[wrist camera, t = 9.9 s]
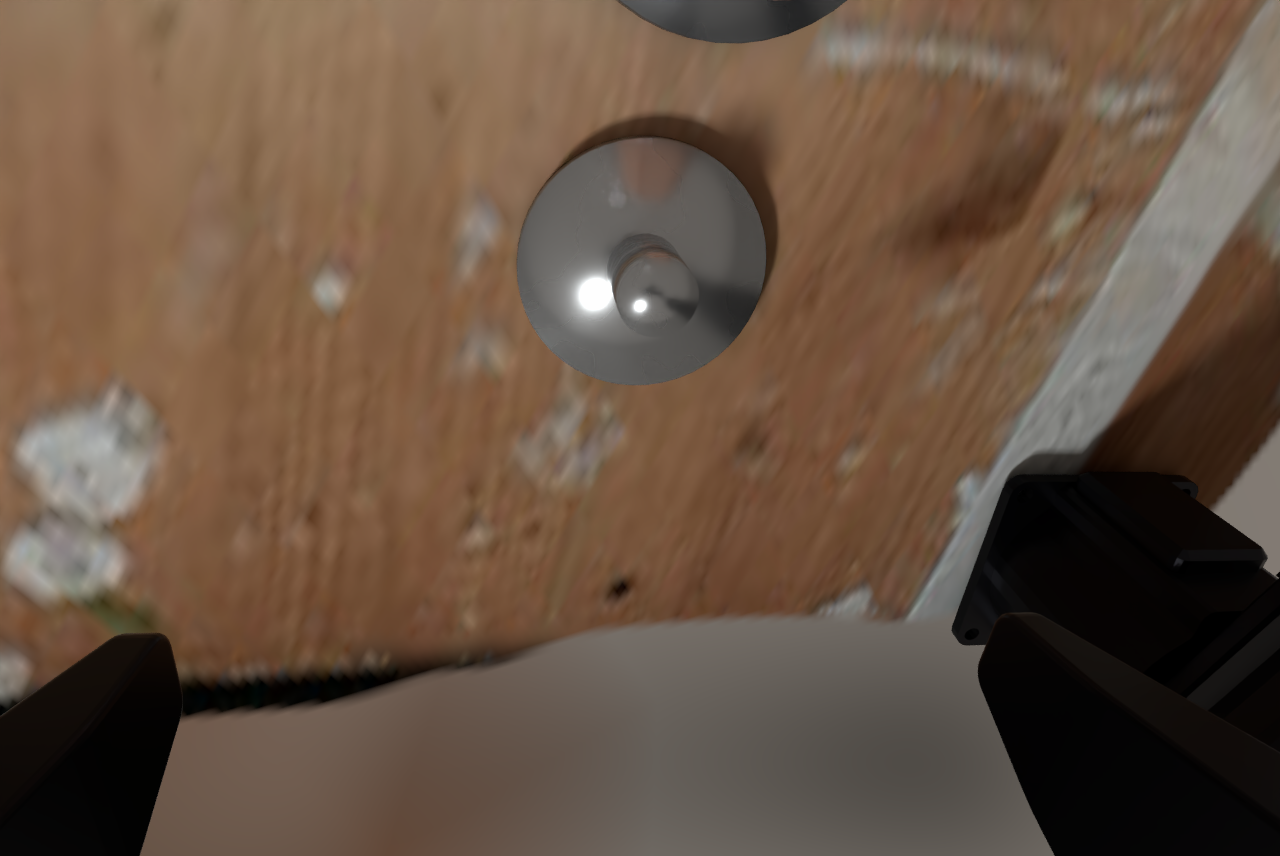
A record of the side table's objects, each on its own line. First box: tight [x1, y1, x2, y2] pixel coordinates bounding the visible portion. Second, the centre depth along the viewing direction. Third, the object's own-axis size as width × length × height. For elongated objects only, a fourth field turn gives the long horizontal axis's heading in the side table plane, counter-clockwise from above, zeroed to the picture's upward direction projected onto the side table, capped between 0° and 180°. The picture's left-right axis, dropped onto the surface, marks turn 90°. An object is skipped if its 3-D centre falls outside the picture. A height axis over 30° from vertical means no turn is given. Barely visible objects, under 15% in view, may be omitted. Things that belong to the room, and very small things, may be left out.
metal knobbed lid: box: [517, 136, 766, 385], centre depth 18 cm, size 6×6×2 cm
